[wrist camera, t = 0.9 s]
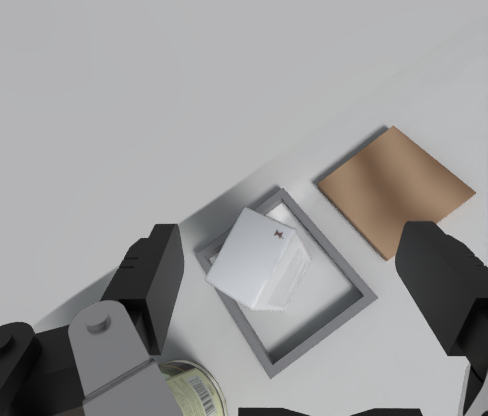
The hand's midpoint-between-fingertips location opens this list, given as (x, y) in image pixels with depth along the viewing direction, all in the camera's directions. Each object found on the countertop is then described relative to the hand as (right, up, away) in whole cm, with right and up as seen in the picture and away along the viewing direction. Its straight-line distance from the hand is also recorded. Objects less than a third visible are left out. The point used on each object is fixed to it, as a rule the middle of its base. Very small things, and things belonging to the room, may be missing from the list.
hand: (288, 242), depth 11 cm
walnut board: (+13, +3, +20) cm, 24 cm away
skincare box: (+2, -6, +20) cm, 21 cm away
